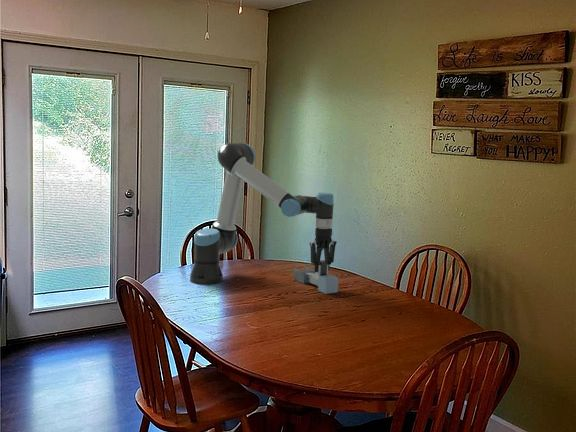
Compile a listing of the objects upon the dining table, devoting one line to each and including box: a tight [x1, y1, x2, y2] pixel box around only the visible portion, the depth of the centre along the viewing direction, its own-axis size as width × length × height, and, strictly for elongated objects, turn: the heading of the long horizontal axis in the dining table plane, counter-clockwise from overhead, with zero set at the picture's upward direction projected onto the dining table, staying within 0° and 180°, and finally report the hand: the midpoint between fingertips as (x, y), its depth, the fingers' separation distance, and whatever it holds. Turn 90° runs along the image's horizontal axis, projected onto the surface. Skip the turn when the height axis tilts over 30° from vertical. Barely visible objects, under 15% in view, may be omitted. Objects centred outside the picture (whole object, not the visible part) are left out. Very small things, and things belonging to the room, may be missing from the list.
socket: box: [317, 274, 339, 295], centre depth 263 cm, size 6×7×7 cm
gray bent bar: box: [306, 259, 327, 287], centre depth 270 cm, size 16×3×11 cm, turn 30°
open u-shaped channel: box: [293, 266, 316, 285], centre depth 280 cm, size 9×7×5 cm
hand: (321, 278), depth 268 cm, fingers closed on gray bent bar, 3 cm apart
